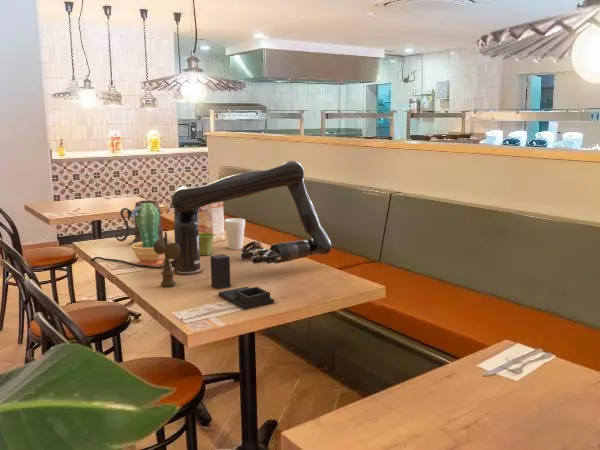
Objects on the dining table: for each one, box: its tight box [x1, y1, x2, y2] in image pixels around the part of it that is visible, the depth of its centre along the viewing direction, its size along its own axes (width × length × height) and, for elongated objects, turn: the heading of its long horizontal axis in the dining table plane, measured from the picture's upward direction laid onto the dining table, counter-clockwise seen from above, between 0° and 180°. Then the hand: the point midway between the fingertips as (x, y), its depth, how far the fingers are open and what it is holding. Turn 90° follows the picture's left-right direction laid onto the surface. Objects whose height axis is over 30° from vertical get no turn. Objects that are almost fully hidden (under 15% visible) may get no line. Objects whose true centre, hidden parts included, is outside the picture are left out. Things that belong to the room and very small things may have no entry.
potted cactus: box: [130, 203, 170, 266], centre depth 235 cm, size 15×15×25 cm
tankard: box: [114, 199, 165, 246], centre depth 270 cm, size 24×17×20 cm
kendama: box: [154, 231, 180, 288], centre depth 205 cm, size 6×10×20 cm, turn 43°
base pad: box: [218, 286, 275, 310], centre depth 192 cm, size 18×11×4 cm, turn 37°
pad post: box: [210, 253, 231, 290], centre depth 205 cm, size 5×5×11 cm
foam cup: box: [224, 217, 246, 250], centre depth 264 cm, size 10×9×13 cm
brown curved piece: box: [241, 240, 264, 253], centre depth 247 cm, size 12×10×8 cm
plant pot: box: [199, 233, 214, 256], centre depth 252 cm, size 9×9×9 cm
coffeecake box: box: [199, 202, 226, 243], centre depth 282 cm, size 15×7×20 cm, turn 43°
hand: (247, 258), depth 211 cm, fingers open, 8 cm apart
